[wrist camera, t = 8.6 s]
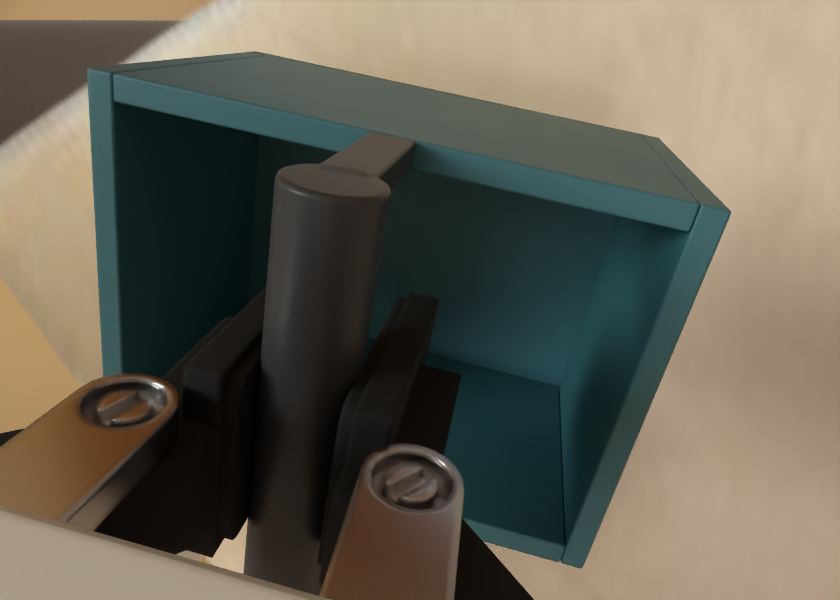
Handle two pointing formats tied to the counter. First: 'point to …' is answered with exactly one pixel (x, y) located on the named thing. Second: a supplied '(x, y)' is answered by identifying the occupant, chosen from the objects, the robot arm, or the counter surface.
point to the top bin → (398, 276)
